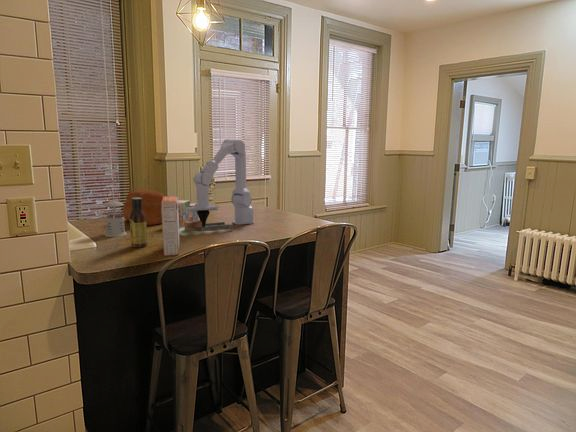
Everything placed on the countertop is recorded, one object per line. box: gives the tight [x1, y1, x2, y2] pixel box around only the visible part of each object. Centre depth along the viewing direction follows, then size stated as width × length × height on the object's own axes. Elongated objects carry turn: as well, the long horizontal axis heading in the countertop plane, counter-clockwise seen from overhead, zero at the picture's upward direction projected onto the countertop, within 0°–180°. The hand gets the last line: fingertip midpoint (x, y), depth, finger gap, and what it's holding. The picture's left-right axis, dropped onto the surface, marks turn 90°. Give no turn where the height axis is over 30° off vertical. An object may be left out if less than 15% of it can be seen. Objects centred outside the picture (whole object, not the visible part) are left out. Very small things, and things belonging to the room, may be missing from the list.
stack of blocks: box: [178, 199, 199, 228], centre depth 212 cm, size 21×6×12 cm, turn 169°
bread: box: [122, 188, 165, 226], centre depth 215 cm, size 18×21×17 cm
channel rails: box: [202, 221, 230, 231], centre depth 200 cm, size 13×8×2 cm, turn 119°
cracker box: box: [161, 195, 181, 257], centre depth 159 cm, size 14×6×21 cm, turn 13°
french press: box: [103, 179, 128, 238], centre depth 185 cm, size 10×12×25 cm
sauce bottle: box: [129, 197, 148, 248], centre depth 166 cm, size 7×6×20 cm
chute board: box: [179, 227, 233, 237], centre depth 197 cm, size 24×14×1 cm, turn 119°
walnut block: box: [184, 219, 202, 232], centre depth 195 cm, size 7×5×4 cm, turn 119°
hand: (203, 225), depth 197 cm, fingers closed
